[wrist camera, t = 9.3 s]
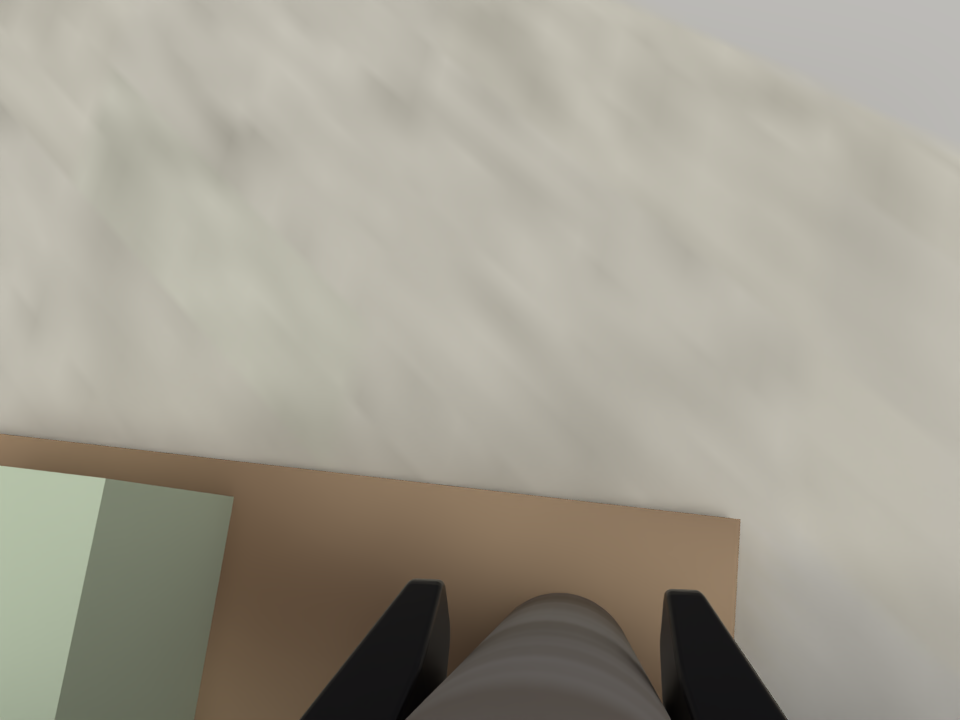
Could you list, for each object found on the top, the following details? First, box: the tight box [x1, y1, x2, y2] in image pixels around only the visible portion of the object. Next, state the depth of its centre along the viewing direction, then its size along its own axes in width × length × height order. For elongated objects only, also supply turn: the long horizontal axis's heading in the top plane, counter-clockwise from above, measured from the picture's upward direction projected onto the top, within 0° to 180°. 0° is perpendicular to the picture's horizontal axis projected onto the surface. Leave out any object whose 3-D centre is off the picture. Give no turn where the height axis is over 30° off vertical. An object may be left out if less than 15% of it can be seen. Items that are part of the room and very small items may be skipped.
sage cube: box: [0, 466, 234, 720], centre depth 14 cm, size 5×5×5 cm
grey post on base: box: [0, 434, 740, 720], centre depth 10 cm, size 6×16×13 cm, turn 83°
